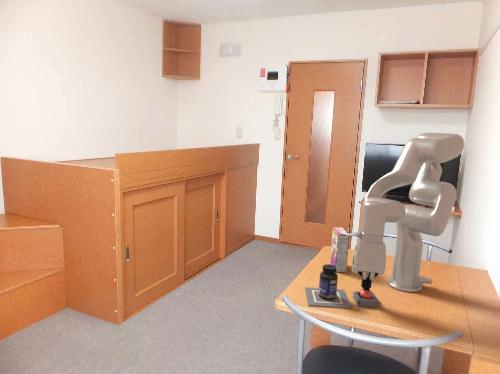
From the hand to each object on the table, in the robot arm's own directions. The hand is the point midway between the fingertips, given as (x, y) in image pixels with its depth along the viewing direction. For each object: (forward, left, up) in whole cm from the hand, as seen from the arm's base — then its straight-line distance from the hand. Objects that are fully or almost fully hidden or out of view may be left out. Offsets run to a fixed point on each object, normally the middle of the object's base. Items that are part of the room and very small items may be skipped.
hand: (365, 289), depth 130 cm
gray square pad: (+13, -2, -5) cm, 14 cm away
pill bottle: (+13, -2, -5) cm, 14 cm away
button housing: (0, 0, -5) cm, 5 cm away
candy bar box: (+4, -32, -5) cm, 33 cm away
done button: (0, 0, -3) cm, 3 cm away
